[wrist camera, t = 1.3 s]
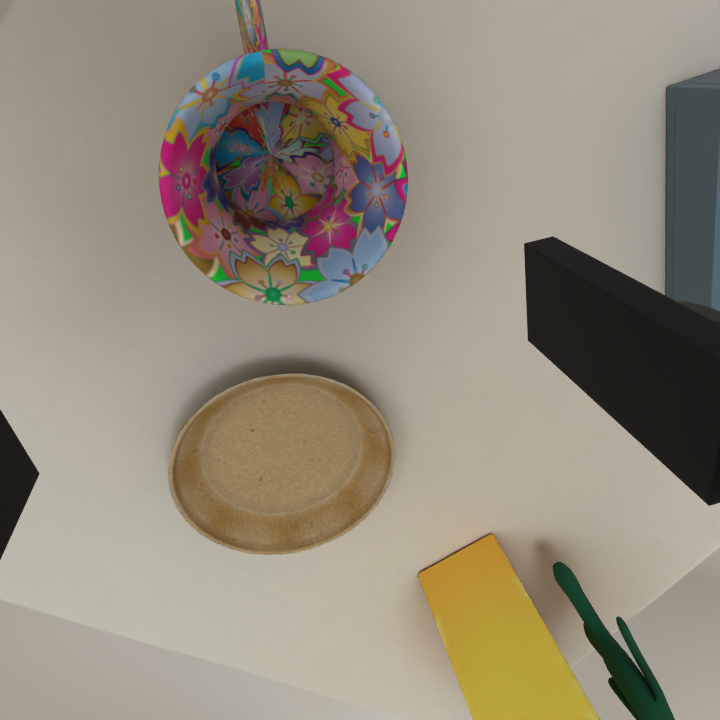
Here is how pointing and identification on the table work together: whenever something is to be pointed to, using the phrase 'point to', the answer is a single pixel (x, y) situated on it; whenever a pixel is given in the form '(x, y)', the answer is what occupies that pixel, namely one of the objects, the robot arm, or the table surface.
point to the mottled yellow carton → (525, 643)
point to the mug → (282, 173)
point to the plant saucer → (281, 464)
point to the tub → (693, 191)
